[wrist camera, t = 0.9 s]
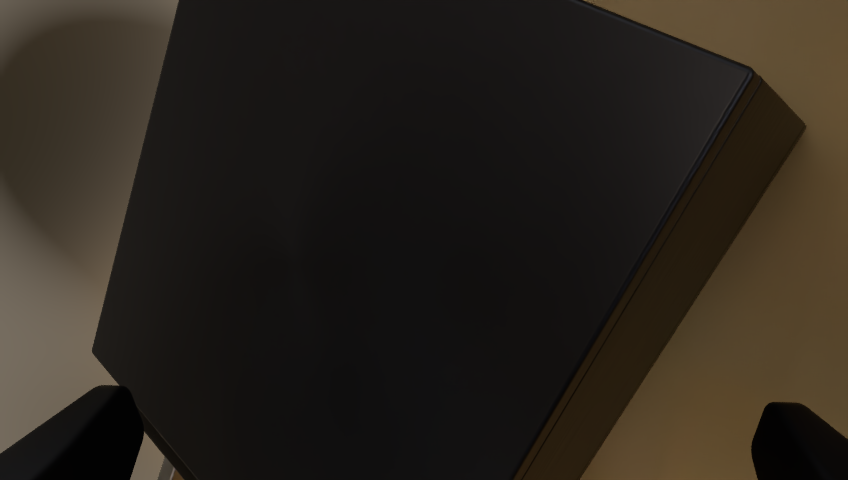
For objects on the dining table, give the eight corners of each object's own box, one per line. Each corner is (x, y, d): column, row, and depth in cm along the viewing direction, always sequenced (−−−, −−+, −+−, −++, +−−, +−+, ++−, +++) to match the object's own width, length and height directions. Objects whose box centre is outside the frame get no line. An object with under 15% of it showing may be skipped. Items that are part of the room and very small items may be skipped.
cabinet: (572, 490, 22) (380, 701, 13) (336, 296, 27) (89, 352, 18) (808, 125, 17) (756, 69, 8) (464, -21, 22) (213, -148, 14)
